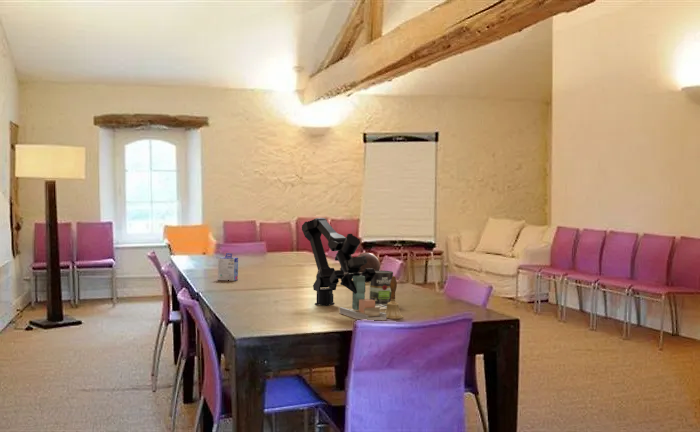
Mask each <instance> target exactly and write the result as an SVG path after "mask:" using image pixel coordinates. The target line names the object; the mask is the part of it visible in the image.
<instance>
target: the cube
mask: <svg viewBox="0 0 700 432" xmlns="http://www.w3.org/2000/svg"><path fill="white" fill-rule="evenodd" d="M375 306H376V305H375V300H372V299H369V298H365V299H360V300H359V311H360V312H363V313H364V308H373V307H375Z"/></svg>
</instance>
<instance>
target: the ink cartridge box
mask: <svg viewBox="0 0 700 432" xmlns="http://www.w3.org/2000/svg"><path fill="white" fill-rule="evenodd" d="M224 256H225V257H218V258H217V281H228V280H229V282H231V281H233V282H234V281H238V280H239V258H238V257H233V253H230V252H227V253H226V254H225V255H224Z"/></svg>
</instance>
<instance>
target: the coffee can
mask: <svg viewBox="0 0 700 432" xmlns="http://www.w3.org/2000/svg"><path fill="white" fill-rule="evenodd" d="M375 272H376V274H375V276H374V277H373V279H372V281H370V282H369V297H368V299H372V300H375V306H379V305H384V306H387V303H389V302H390V301H391V288H390V282H391V279H392V276H394V272H393V271H391V270H379V271H375Z"/></svg>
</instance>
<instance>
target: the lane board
mask: <svg viewBox="0 0 700 432" xmlns="http://www.w3.org/2000/svg"><path fill="white" fill-rule="evenodd" d="M378 306H382V307H386V308H387V305H386V306H384V305H378ZM349 309H350V308H346V307H342V306H339V311H338V312H339V314H341V315H343V316H345V317H346V316H347V317H349V318H353V319H356V320H358V319H367V320H382V321H387V318H386V314H385V312H380V316H372V317H368V316H369V315H366V314H362V313H359V312H356V311H353V310H349Z"/></svg>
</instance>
